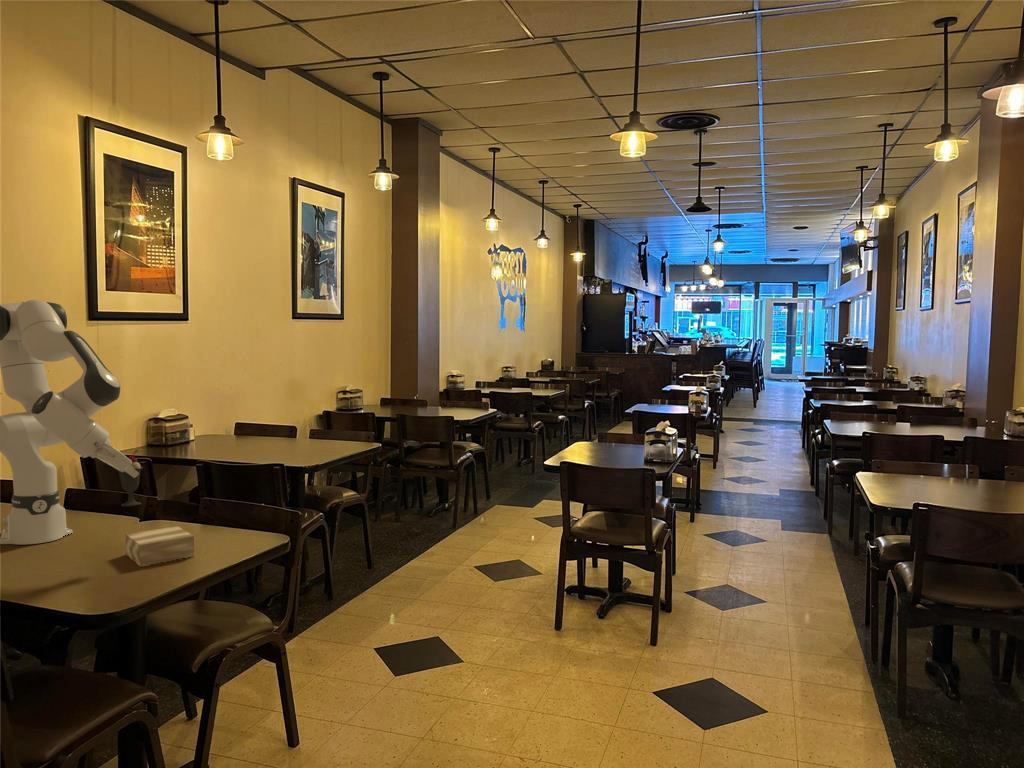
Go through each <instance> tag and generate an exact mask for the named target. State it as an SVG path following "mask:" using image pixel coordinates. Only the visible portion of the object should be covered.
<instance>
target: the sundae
mask: <svg viewBox="0 0 1024 768" xmlns="http://www.w3.org/2000/svg"><path fill="white" fill-rule="evenodd" d="M138 451H139V450H138V449H135V450H134V452H133V453H132V454H131V455H130V456H128V458H129V459H130V460H131V461H132V464H131V466H132V467H133V468H134V469H135V470H136V471H137V472H139V475H138V476H137V477H136V478H133V477H132V476H131V475H129V474H128V473H126V472H125V471H124V472H121V471H119V470H117V469H116V468H115V470H116V471H117V472H118V474H119V479H120V484H121V488H122V490H123V491H125V492H127V494H128V499H127V500H126V502H125V503H122V504H121V505H120V506H121V507H133V506H138V505H139V506H140V505H141V504H142V502H140V501H136V500H135V499H134V492H135V491H136V490H137V489H138V488H139V485H140V476H141V470H143V468H144V466H142V465H141V464H140V463H139V462H138V459H137V457H135V455H136V453H137V452H138Z"/></svg>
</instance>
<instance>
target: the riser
mask: <svg viewBox="0 0 1024 768" xmlns="http://www.w3.org/2000/svg"><path fill="white" fill-rule="evenodd" d="M125 554H126V555H125V556H127V557H128V556H129V557H130V558H129V557H128V558H129V559H130V560H132V561H133V562H134V563H135V562H136V563H135V564H136V565H138V566H139V567H140V568H141V566H142V567H145V566H146V567H147V566H151V564H153V565H157V563H158V564H162V563H161V562H163V563H168V562H167V561H169V562H172V561H171V560H174V561H177V560H176V559H179V560H183V559H182V558H185V559H189V557H190V558H194V557H195V535H193V534H191V533H190V532H188V531H186V530H184V529H183V528H181V526H178V525H175V526H168V527H163V528H156V529H149V530H143V531H137V532H136V531H135V532H130V533H125Z"/></svg>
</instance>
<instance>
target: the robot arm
mask: <svg viewBox="0 0 1024 768" xmlns="http://www.w3.org/2000/svg"><path fill="white" fill-rule="evenodd" d="M67 328H68V316H67V313H66V311H65V309H64V307H63V306H62V305H61V304H59V303H56V302H55V303H54V302H50V301H49V302H48V301H45V300H42V299H30V300H27V301H26V300H25V301H21V302H9V303H1V304H0V371H1V376H2V378H1V379H2V384H3V389H4V392H5V395H6V396H7V397H8V398H10V399H12V400H15V401H16V402H18V403H19V404H21V405H22V406H23V408H24V409H25V412H13V413H7V414H4V415H1V416H0V453H1V454H2V455H3V456H4V457H5V459H6V460H7V461H8V463H9V466H10V468H11V474H12V484H13V485H12V486H13V494H12V497H11V506H12V509H11V510H10V512H9V513H8V515H7V517H4V518H2V526H3V527H5V528H4V529H3V530H2V532H1V535H0V545H20V546H21V545H38V544H42V543H48V542H53V541H56V540H59V539H62V538H63V536H64V537H65V535H66V536H68V534H69V535H72V534H74V532H73V529H71V528H69V527H67V515H66V509H65V507H64V506H62V505H60V503H59V502H60V498H61V496H60V491H59V490H58V469H57V466H56V465H55V464H54V462H52V461H50V460H48V459H46V458H43V456H42V455H41V452H40V448H42V447H48V446H56V445H61V444H62V443H65V444H66V446H68V448H70V449H71V450H73V451H74V452H75V453H77V454H78V455H79V456H80V457H82V458H84V459H85V458H88V457H90V458H92V459H95V458H96V459H98V460H99V461H102V462H103V463H105V464H106V465H109V466H110V467H112V468H114V469H115V470H116V469H117V470H119V471H121V472H124V471H125V472H126V473H128V474H129V475H131V476H132V477H133V478H136V477H137V476H138V475H139V472H137V471H136V470H135V469H134V468H133V467H132V466H131V464H132V461H131V460H130V459H129V457H127V456H126V455H125V454H124V453H123V452H121V451H120V450H119V449H117V448H116V447H114V446H113V445H111V442H112V441H111V439H110V438H109V437H110V435H111V434H110V432H109V431H108V430H107V429H106V428H104V427H103V426H101V425H100V424H99V422H97V421H95V420H94V419H92V418H91V417H93V416H95V414H97V413H98V412H99V411H101V410H103V408H105V407H106V406H109V405H110V404H113V403H114V402H115V401H117V400H119V397H120V395H121V394H120V393H121V383H120V381H119V380H118V379H117V377H116V376H115V375H114V374H113V373H112V372H111V371H110V370H109V369H108V368H107V367H106V366H105V364H104V363H103V361H102V360H101V359H100V358H99V356H98V354H97V353H96V352H95V351H94V349H93V348H92V347H91V346H90V345H89V343H88V341H86V339H84V338H83V337H82V336H81V335H80V334H79V333H77V332H75V331H72V330H67ZM72 357H73V358H74V360H75V361H76V362H77V363H78V365H79V367H80V368H81V369H82V370H83V373H82V375H81V376H80V377H79V378H78V379H77V380H75V381H74V382H73V383H72V384H70V385H69V386H68V387H66V388H65V389H64V390H61V391H59V392H56V391H53V390H51V388H50V384H49V382H48V376H47V373H46V372H47V371H46V366H45V362H49V363H51V362H52V363H53V362H54V363H55V362H59V361H63V360H66V359H68V358H72ZM117 470H116V471H117ZM71 533H72V534H71Z"/></svg>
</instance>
